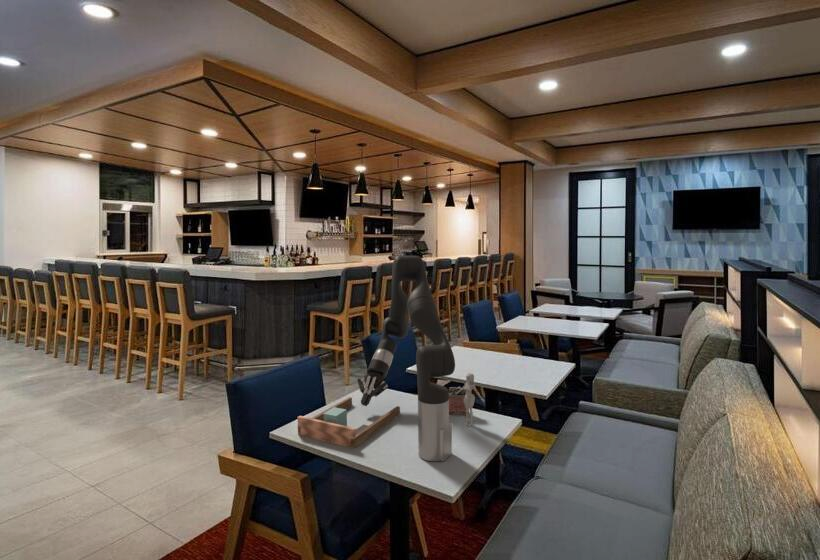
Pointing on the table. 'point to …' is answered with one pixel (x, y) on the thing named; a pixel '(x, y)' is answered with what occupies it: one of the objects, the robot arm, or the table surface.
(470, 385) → the human figurine
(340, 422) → the block
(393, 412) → the lane box
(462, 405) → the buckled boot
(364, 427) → the trap pads
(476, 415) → the table surface
